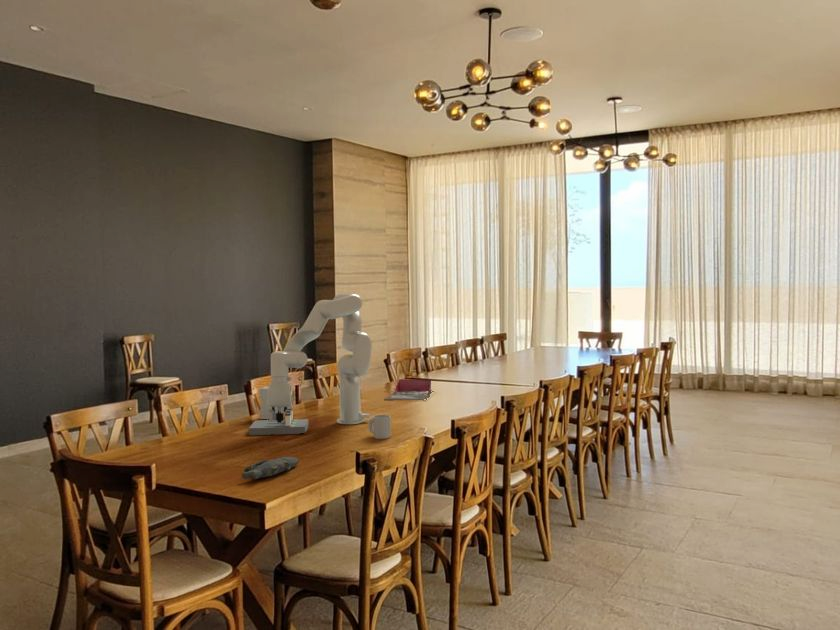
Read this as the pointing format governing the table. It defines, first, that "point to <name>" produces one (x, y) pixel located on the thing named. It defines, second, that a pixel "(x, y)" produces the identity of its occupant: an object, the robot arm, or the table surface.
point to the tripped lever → (288, 419)
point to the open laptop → (411, 390)
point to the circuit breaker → (264, 411)
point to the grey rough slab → (269, 467)
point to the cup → (380, 426)
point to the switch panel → (278, 427)
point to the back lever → (291, 413)
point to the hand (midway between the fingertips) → (279, 421)
